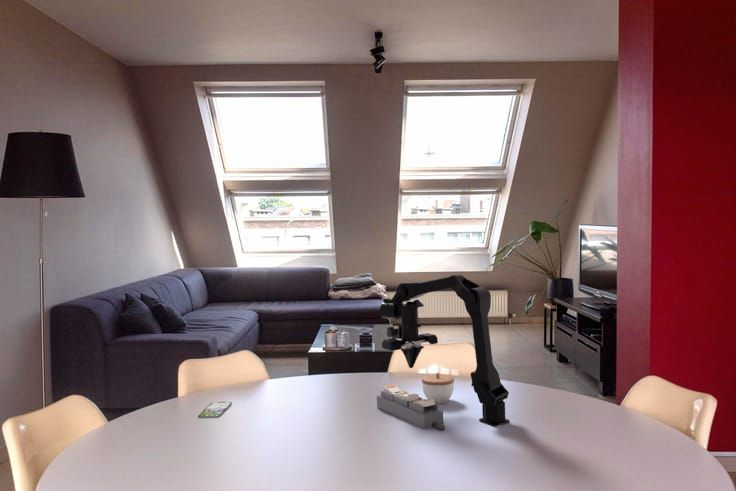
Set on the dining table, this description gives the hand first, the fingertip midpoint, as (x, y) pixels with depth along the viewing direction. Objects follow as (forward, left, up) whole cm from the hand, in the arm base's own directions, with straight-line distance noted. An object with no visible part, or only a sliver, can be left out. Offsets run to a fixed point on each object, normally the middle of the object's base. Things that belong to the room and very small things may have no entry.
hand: (411, 367), depth 197 cm
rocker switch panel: (-10, +7, -13) cm, 17 cm away
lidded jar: (-1, -10, -13) cm, 16 cm away
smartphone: (+35, +55, -13) cm, 67 cm away
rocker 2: (-8, +7, -7) cm, 13 cm away
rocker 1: (-16, +7, -7) cm, 19 cm away
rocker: (0, +7, -7) cm, 10 cm away
